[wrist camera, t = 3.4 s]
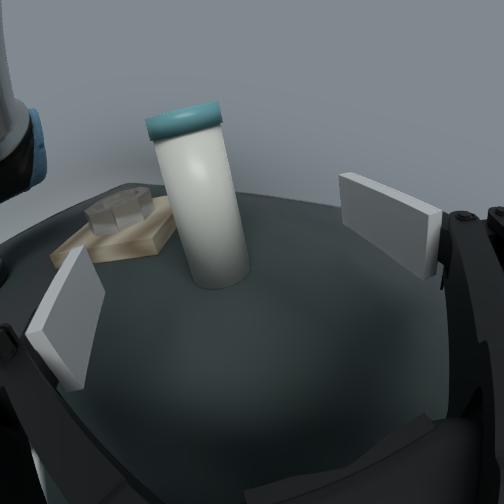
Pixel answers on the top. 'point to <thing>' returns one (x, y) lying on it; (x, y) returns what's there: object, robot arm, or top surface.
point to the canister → (201, 193)
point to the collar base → (124, 239)
